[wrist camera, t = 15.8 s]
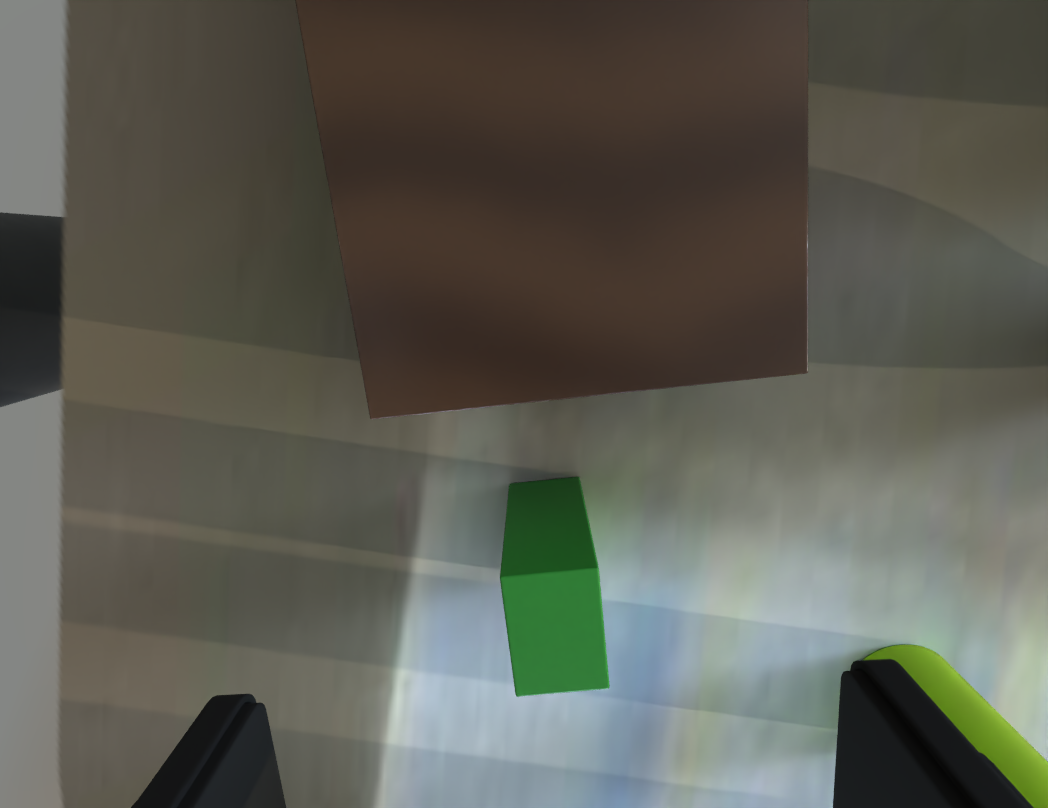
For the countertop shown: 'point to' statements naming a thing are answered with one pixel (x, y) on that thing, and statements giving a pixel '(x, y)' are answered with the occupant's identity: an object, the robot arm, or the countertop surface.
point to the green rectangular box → (552, 590)
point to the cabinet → (564, 193)
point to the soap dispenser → (975, 719)
